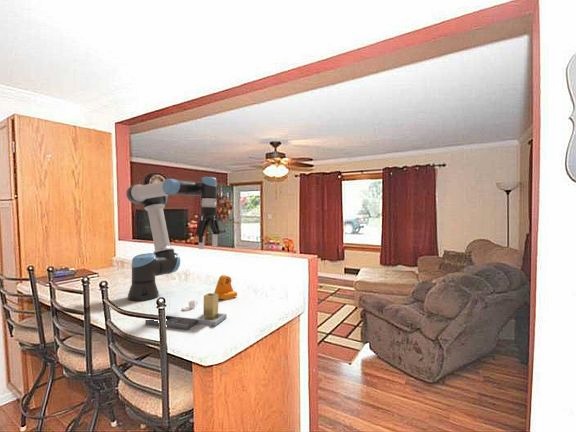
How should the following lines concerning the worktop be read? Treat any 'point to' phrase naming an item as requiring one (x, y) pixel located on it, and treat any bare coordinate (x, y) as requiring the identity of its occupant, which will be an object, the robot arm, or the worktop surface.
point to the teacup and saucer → (190, 306)
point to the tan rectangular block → (210, 306)
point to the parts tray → (210, 322)
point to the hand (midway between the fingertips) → (208, 247)
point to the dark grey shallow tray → (175, 322)
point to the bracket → (225, 288)
